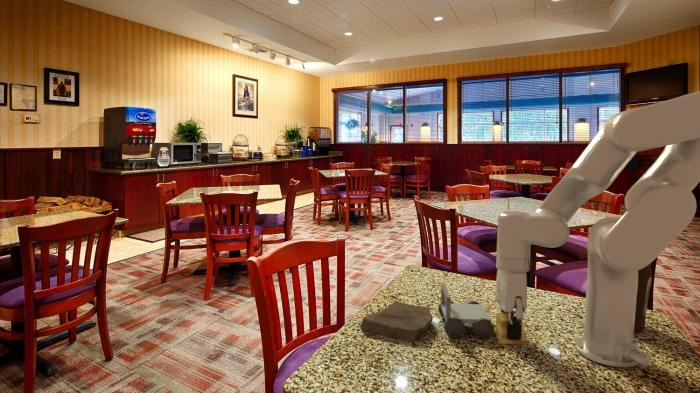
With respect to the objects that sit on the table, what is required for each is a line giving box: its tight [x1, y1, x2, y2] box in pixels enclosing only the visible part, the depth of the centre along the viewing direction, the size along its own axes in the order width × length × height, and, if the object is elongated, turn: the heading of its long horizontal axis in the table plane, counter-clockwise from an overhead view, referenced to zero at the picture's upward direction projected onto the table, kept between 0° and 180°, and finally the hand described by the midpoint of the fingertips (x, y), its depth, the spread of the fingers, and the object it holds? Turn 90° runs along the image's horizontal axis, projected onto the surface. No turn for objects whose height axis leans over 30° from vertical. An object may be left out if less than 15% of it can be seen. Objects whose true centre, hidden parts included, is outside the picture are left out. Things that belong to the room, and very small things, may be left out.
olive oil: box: [634, 263, 653, 334], centre depth 105 cm, size 11×11×25 cm
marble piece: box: [360, 301, 434, 342], centre depth 108 cm, size 17×15×4 cm
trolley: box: [438, 283, 495, 340], centre depth 106 cm, size 12×13×10 cm
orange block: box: [495, 312, 528, 345], centre depth 99 cm, size 6×4×6 cm
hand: (510, 332), depth 100 cm, fingers open, 5 cm apart
